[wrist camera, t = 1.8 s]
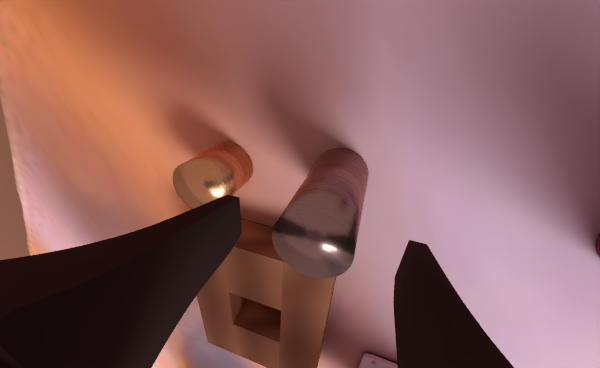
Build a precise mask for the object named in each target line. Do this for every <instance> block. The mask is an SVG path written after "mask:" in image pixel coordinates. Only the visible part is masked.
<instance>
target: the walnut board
mask: <svg viewBox="0 0 600 368" xmlns="http://www.w3.org/2000/svg"><path fill="white" fill-rule="evenodd" d="M241 228H242V233H241V235H240V237H239V239H238V240H237V242H236V244H235V245H234V247H233V249H232V250H231V252H230V253H229V254H228V256H227V257H226V258H225V260H224V261H223V262H222V264H221V265H220V266H219V267H218V269H217V270H216V271H215V272H214V274H213V275H212V276H211V277H210V279H209V280H208V281H207V282H206V284H205V285H204V286H203V287H202V289H201V290H200V291H199V293H198V294H197V298H198V302H199V306H200V311H201V315H202V319H203V323H204V328H205V332H206V336H207V340H208V342H209V343H211V344H214V345H216V346H218V347H221V348H223V349H225V350H228V351H230V352H232V353H235V354H237V355H239V356H242V357H244V358H246V359H249V360H251V361H253V362H256V363H258V364H260V365H263V366H265V367H267V368H317V366H318V362H319V357H320V353H321V348H322V343H323V338H324V333H325V328H326V323H327V318H328V314H329V309H330V304H331V299H332V294H333V289H334V284H335V279H336V276H335V277H331V278H316V277H311V276H307V275H304V274H302V273H300V272H298V271H296V270H294V269H293V268H291V267H290V266H289V265H287V264H286V263H285V262H284V261H283V260H282V259H281V258H280V256H279V255H278V253H277V252H276V250H275V248H274V245H273V241H272V231H273V227H269V226H265V225H262V224H258V223H254V222H251V221H247V220H243V219H241Z"/></svg>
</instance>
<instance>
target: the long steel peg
mask: <svg viewBox="0 0 600 368" xmlns="http://www.w3.org/2000/svg"><path fill="white" fill-rule="evenodd" d="M367 181H368V168H367V165H366V163H365V161H364V160H363V159H362V157H361V156H360V155H358V154H357V153H356V152H354V151H352V150H349V149H345V148H335V149H331V150H329V151H327V152H325V153H324V154H323V155H322V156H321V157H320V158H319V159H318V161H317V162H316V164H315V165H314V167H313V168H312V170H311V171H310V173H309V174H308V176H307V177H306V179H305V180H304V182H303V183H302V185H301V186H300V188H299V189H298V191H297V192H296V194H295V195H294V197H293V198H292V200H291V201H290V203H289V204H288V206H287V207H286V209H285V210H284V212H283V213H282V215H281V216H280V218H279V219H278V221H277V222H276V224H275V226H274V228H273V231H272V241H273V245H274V248H275V250H276V252H277V253H278V255H279V256H280V258H281V259H282V260H283V261H284V262H285V263H286V264H287V265H289V266H290V267H291V268H293V269H294V270H296V271H298V272H300V273H302V274H304V275H307V276H311V277H316V278H331V277H335V276H338V275H341V274H342V273H344V272H345V271H346V270H348V268H349V267H350V266H351V264H352V262H353V259H354V253H355V248H356V242H357V237H358V231H359V225H360V220H361V214H362V209H363V203H364V197H365V192H366V186H367Z"/></svg>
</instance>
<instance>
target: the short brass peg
mask: <svg viewBox="0 0 600 368" xmlns="http://www.w3.org/2000/svg"><path fill="white" fill-rule="evenodd" d="M252 174H253V164H252V161H251V158H250V156H249V155H248V153H247V152H246V151H245V150H244V149H243V148H242V147H241V146H239V145H237V144H235V143H232V142H222V143H220V144H218V145H216V146H214V147H212V148H211V149H209V150H207V151H205V152H203V153H201V154H200V155H198V156H196V157H194V158H192V159H190V160H189V161H187V162H185V163H183V164H181V165H180V166H178V167H177V168H176V169H175V171H174V173H173V184H174V187H175V190H176V192H177V194H178V195H179V197H180V198H181V199H182V200H183V201H184V202H185V203H186V204H187V205H188V206H189V207H191V208H192V209H194V208H196V207H199V206H201V205H203V204H206V203H208V202H210V201H213V200H215V199H217V198H220V197H222V196H225V195H230V196H232V195H233V194H234V193H235V192H236V191H238V190H239V189H240V188H241V187H242V186H243V185H244V184H245V183H246V182H247V181H248V180H249V179H250V178H251V176H252Z"/></svg>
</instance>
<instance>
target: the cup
mask: <svg viewBox="0 0 600 368" xmlns="http://www.w3.org/2000/svg"><path fill="white" fill-rule="evenodd" d="M596 247H597V252H598V255H599V256H600V235H599V237H598V238H597V245H596Z"/></svg>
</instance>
